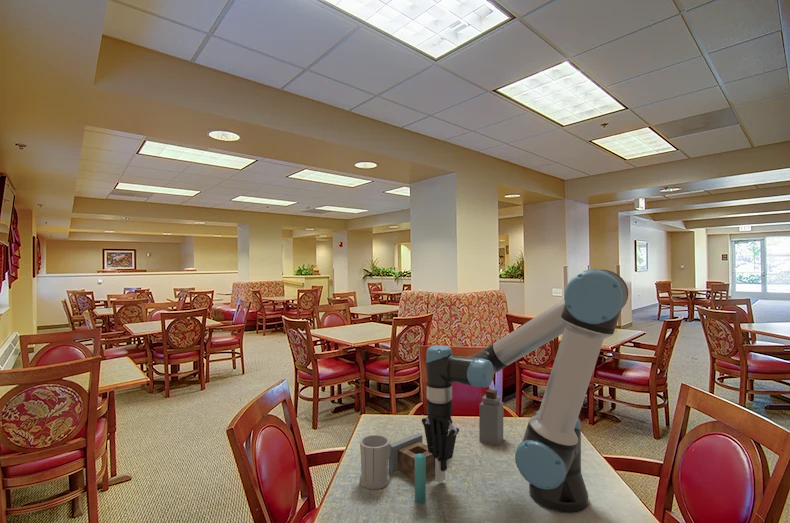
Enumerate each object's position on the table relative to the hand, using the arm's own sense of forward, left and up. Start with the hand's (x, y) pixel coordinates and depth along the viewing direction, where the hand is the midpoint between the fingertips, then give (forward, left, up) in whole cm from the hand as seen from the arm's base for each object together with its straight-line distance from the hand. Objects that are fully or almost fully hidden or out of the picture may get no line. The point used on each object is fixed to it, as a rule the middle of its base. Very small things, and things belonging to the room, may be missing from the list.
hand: (440, 480), depth 115 cm
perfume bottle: (+7, -36, -1) cm, 37 cm away
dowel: (-2, +10, -1) cm, 10 cm away
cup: (+14, +13, -1) cm, 19 cm away
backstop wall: (+15, 0, -1) cm, 15 cm away
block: (+9, 0, -1) cm, 9 cm away
